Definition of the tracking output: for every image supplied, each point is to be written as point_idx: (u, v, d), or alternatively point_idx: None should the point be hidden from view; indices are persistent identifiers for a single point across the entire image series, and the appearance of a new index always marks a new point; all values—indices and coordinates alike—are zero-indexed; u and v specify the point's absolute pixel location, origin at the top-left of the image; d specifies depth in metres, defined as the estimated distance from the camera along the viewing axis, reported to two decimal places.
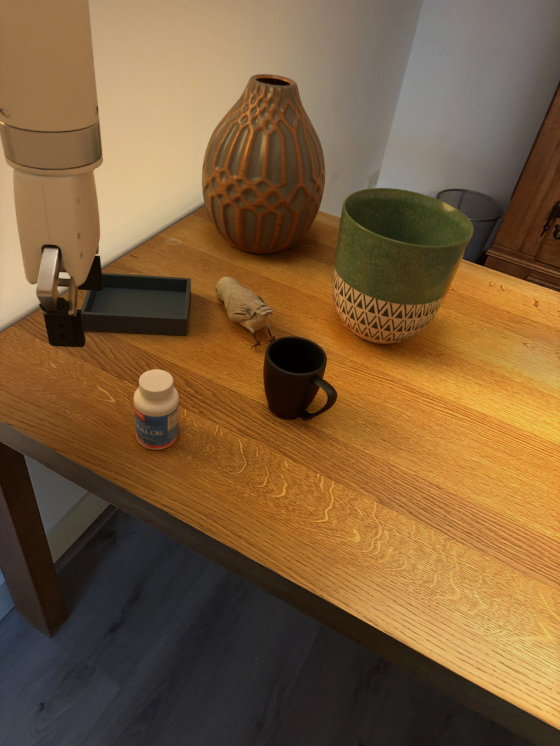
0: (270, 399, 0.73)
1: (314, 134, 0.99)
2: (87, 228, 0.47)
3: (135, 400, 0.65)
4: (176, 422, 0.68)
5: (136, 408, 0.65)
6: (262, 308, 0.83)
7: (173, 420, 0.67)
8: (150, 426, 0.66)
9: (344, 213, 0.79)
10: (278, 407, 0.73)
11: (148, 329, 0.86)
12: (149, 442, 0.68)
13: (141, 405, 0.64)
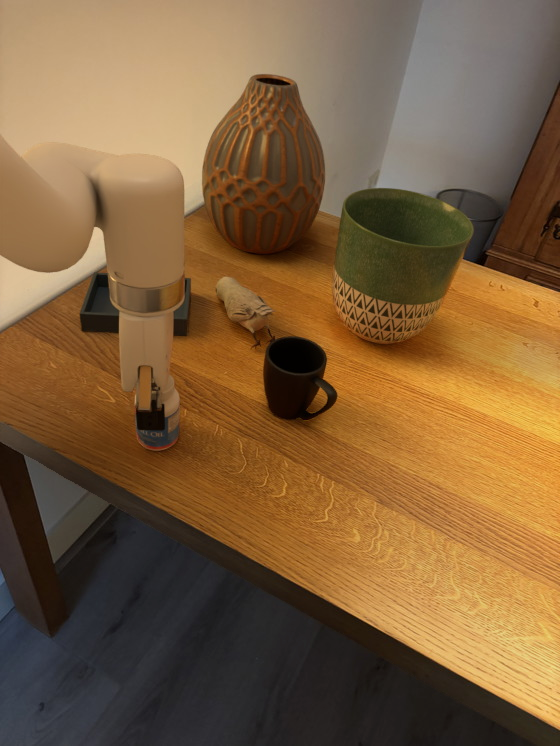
0: (270, 399, 0.73)
1: (314, 134, 0.99)
2: (170, 347, 0.58)
3: None
4: (177, 424, 0.68)
5: None
6: (262, 308, 0.83)
7: (174, 422, 0.67)
8: None
9: (344, 213, 0.79)
10: (278, 407, 0.73)
11: None
12: (149, 443, 0.68)
13: None
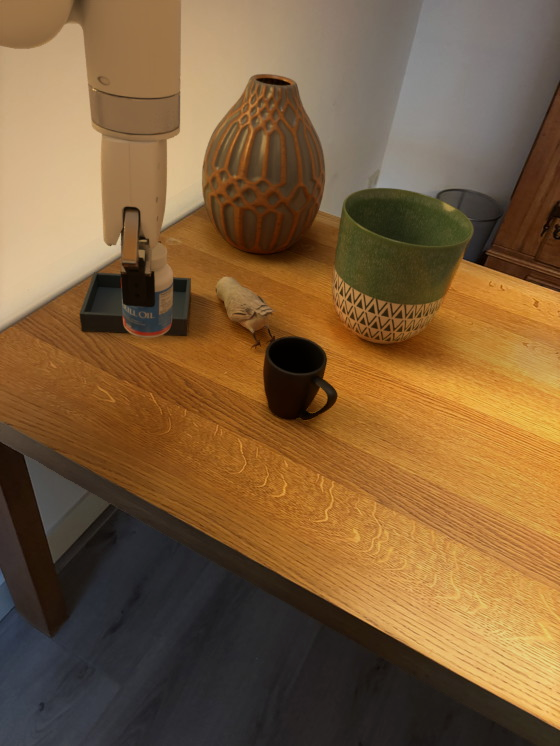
0: (270, 399, 0.73)
1: (314, 134, 0.99)
2: (162, 193, 0.50)
3: None
4: (169, 306, 0.59)
5: None
6: (262, 308, 0.83)
7: (166, 302, 0.58)
8: (139, 306, 0.57)
9: (344, 213, 0.79)
10: (278, 407, 0.73)
11: None
12: (137, 327, 0.59)
13: None
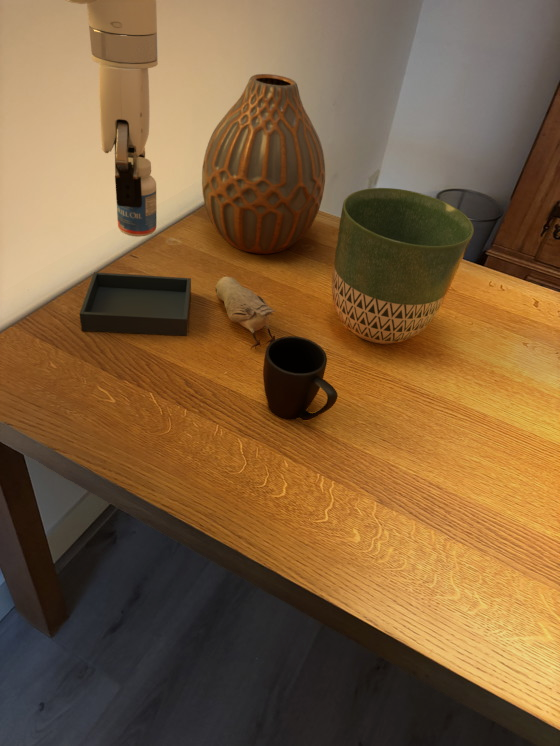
0: (270, 399, 0.73)
1: (314, 134, 0.99)
2: (145, 112, 0.67)
3: None
4: (154, 210, 0.76)
5: None
6: (262, 308, 0.83)
7: (151, 206, 0.75)
8: (130, 207, 0.74)
9: (344, 213, 0.79)
10: (278, 407, 0.73)
11: (148, 329, 0.86)
12: (129, 227, 0.76)
13: None
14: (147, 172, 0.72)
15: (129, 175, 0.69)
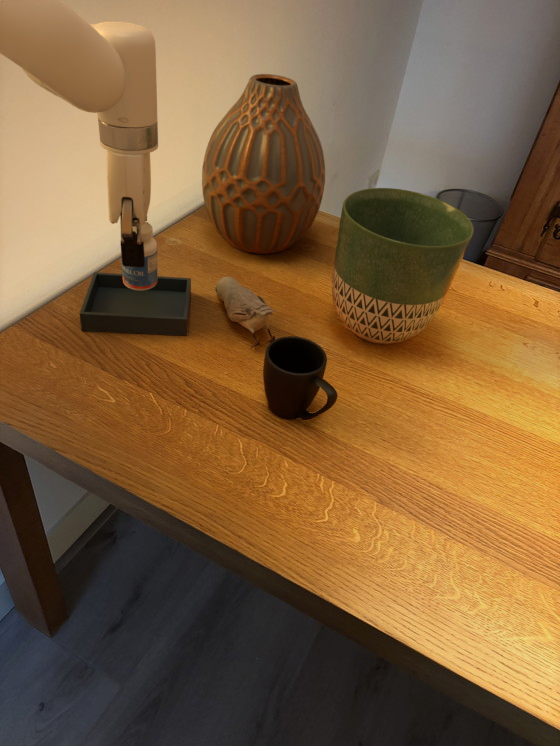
0: (270, 399, 0.73)
1: (314, 134, 0.99)
2: (147, 188, 0.75)
3: None
4: (155, 267, 0.84)
5: None
6: (262, 308, 0.83)
7: (153, 264, 0.83)
8: None
9: (344, 213, 0.79)
10: (278, 407, 0.73)
11: (148, 329, 0.86)
12: (133, 282, 0.84)
13: None
14: (149, 236, 0.81)
15: (133, 242, 0.77)
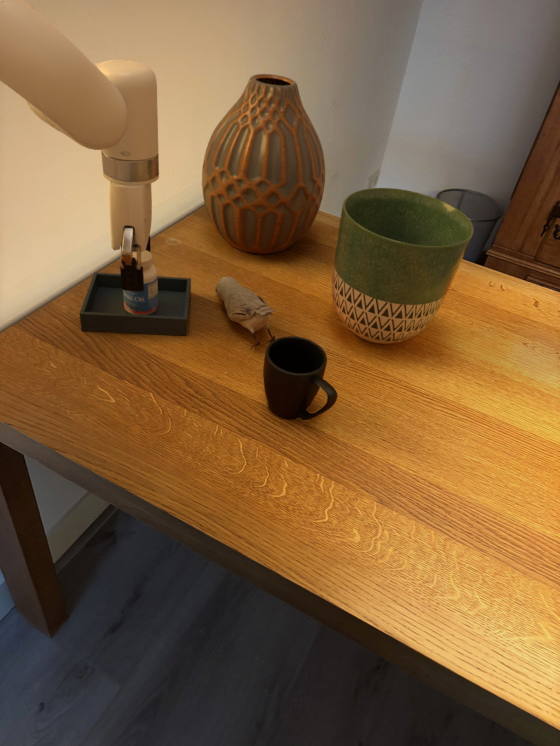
0: (270, 399, 0.73)
1: (314, 134, 0.99)
2: (148, 216, 0.78)
3: None
4: (155, 293, 0.87)
5: None
6: (262, 308, 0.83)
7: (153, 290, 0.86)
8: (135, 293, 0.85)
9: (344, 213, 0.79)
10: (278, 407, 0.73)
11: (148, 329, 0.86)
12: (134, 308, 0.87)
13: None
14: (149, 264, 0.84)
15: (133, 267, 0.78)
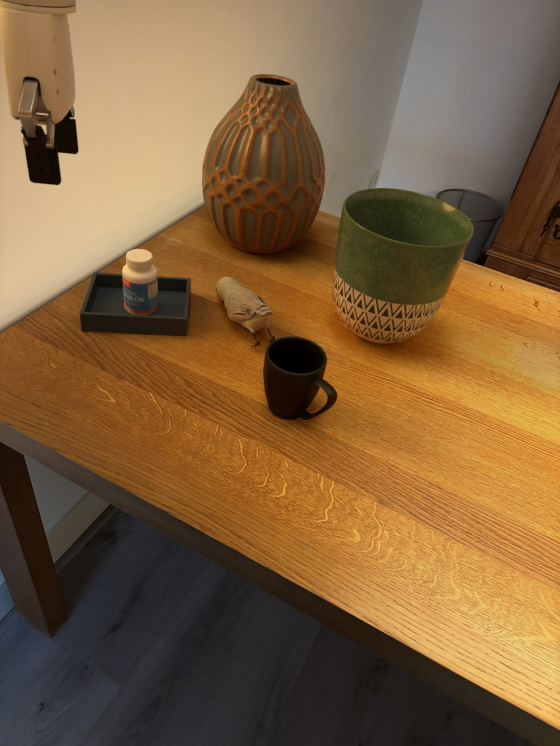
0: (270, 399, 0.73)
1: (314, 134, 0.99)
2: (63, 71, 0.55)
3: (123, 271, 0.84)
4: (155, 293, 0.87)
5: (124, 278, 0.85)
6: (262, 308, 0.83)
7: (153, 290, 0.86)
8: (135, 293, 0.85)
9: (344, 213, 0.79)
10: (278, 407, 0.73)
11: (148, 329, 0.86)
12: (134, 308, 0.87)
13: (127, 274, 0.84)
14: (149, 264, 0.84)
15: (40, 143, 0.55)
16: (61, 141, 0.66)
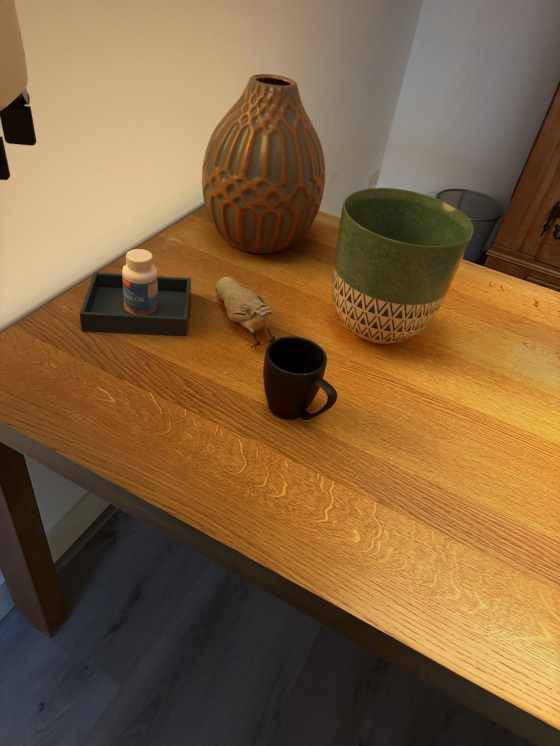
0: (270, 399, 0.73)
1: (314, 134, 0.99)
2: (4, 50, 0.49)
3: (123, 271, 0.84)
4: (155, 293, 0.87)
5: (124, 277, 0.85)
6: (262, 308, 0.83)
7: (153, 290, 0.86)
8: (135, 293, 0.85)
9: (344, 213, 0.79)
10: (278, 407, 0.73)
11: (148, 329, 0.86)
12: (134, 308, 0.87)
13: (127, 274, 0.84)
14: (149, 264, 0.84)
15: None
16: (16, 131, 0.59)
